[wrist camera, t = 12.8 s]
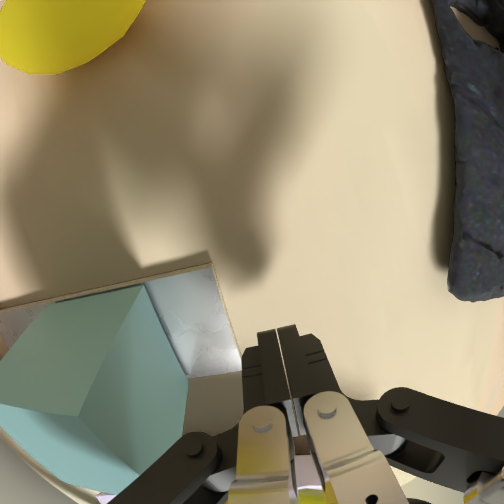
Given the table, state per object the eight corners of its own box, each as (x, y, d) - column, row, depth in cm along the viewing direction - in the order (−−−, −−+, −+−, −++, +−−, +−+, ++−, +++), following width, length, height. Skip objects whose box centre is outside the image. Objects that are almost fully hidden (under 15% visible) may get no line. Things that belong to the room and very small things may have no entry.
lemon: (160, -24, 7) (151, -93, 3) (157, 66, 9) (134, 11, 4) (31, 16, 6) (-21, -20, 1) (21, 105, 8) (-52, 96, 3)
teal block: (189, 382, 14) (175, 501, 7) (99, 388, 14) (63, 482, 7) (144, 284, 11) (78, 416, 5) (48, 304, 12) (-26, 396, 5)
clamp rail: (244, 363, 14) (244, 369, 14) (35, 378, 15) (32, 383, 14) (212, 262, 12) (211, 267, 12) (-7, 310, 12) (-11, 314, 12)
